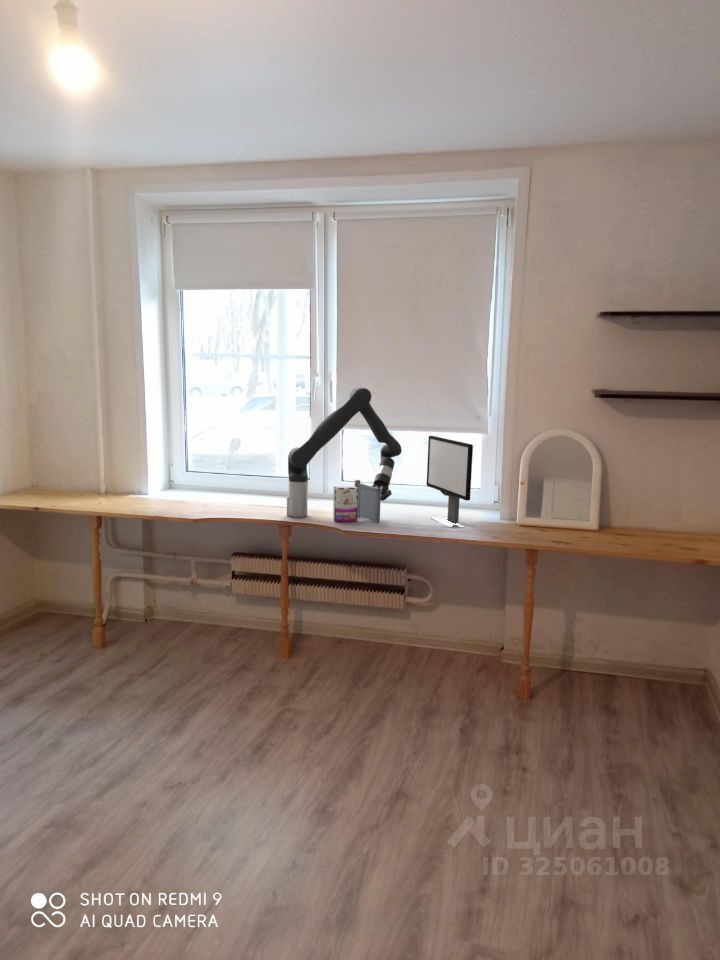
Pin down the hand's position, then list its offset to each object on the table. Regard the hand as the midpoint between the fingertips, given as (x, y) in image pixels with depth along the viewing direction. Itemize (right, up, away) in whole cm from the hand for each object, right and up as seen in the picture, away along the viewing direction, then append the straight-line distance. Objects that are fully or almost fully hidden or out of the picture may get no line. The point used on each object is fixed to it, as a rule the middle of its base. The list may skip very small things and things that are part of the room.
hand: (374, 506), depth 331 cm
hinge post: (-9, -5, +12) cm, 16 cm away
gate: (-3, -6, +3) cm, 7 cm away
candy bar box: (-14, -7, +1) cm, 16 cm away
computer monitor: (+35, -8, +4) cm, 36 cm away
